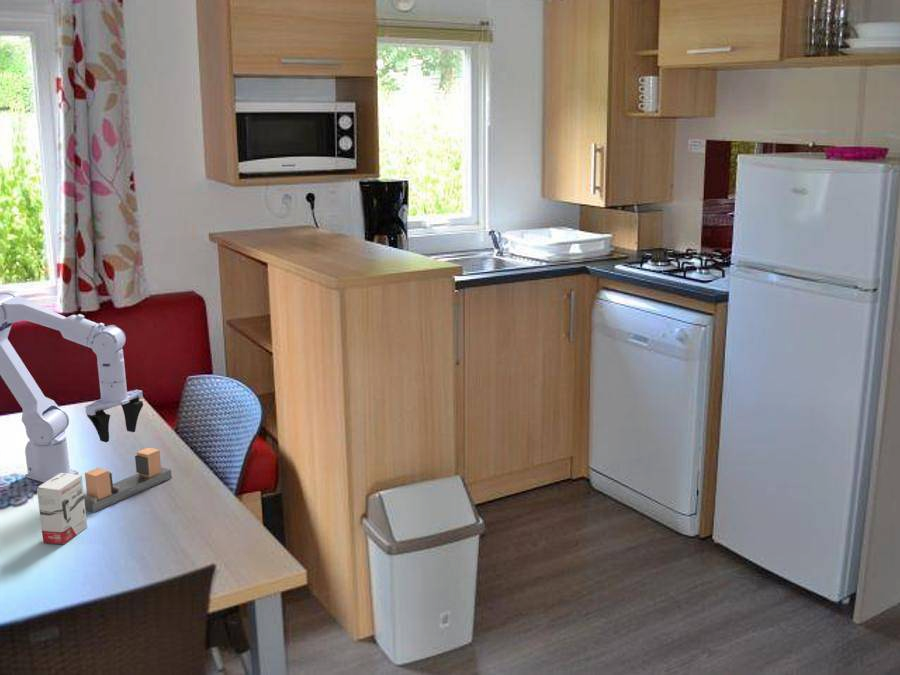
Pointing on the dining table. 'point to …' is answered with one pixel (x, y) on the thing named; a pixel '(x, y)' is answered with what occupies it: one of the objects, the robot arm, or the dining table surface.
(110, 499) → the rail
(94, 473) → the tan block with backing
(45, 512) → the ink box
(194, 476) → the dining table surface
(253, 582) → the dining table surface
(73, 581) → the dining table surface
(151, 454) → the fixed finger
